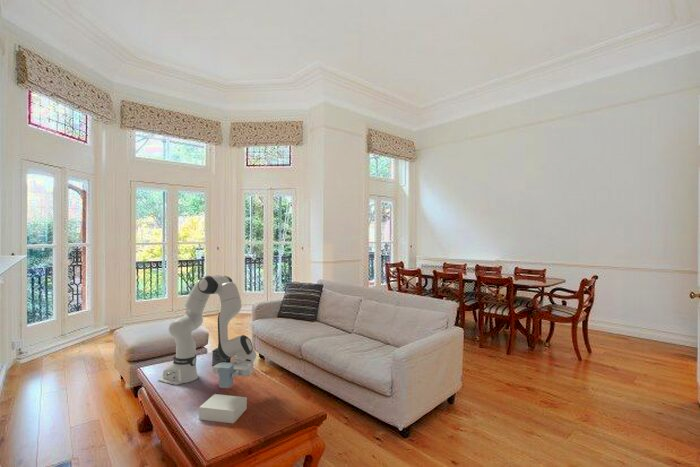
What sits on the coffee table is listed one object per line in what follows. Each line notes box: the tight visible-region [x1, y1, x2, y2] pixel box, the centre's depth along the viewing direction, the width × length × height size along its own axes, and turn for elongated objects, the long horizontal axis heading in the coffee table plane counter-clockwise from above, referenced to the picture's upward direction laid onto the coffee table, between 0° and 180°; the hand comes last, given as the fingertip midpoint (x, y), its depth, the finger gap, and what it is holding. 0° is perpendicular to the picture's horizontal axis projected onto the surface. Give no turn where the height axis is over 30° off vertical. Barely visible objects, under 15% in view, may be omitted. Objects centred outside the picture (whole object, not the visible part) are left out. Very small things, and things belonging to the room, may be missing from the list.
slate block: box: [218, 364, 234, 389], centre depth 178 cm, size 5×5×10 cm
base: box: [198, 393, 248, 424], centre depth 176 cm, size 18×14×6 cm
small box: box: [211, 347, 232, 367], centre depth 240 cm, size 11×6×10 cm, turn 84°
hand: (225, 375), depth 177 cm, fingers closed on slate block, 5 cm apart
